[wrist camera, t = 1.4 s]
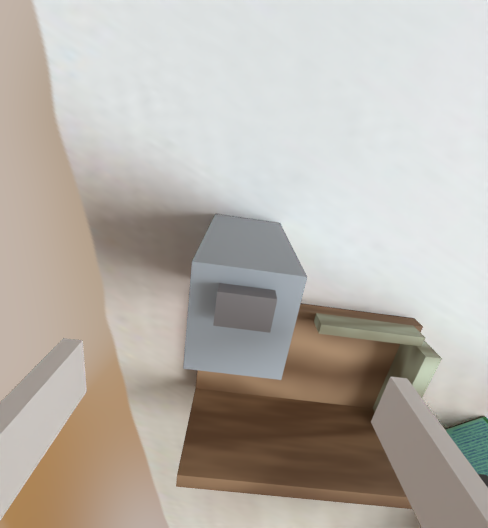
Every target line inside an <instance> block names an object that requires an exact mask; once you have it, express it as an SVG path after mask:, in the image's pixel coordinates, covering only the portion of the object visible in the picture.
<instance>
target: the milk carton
mask: <svg viewBox="0 0 488 528" xmlns="http://www.w3.org/2000/svg"><path fill="white" fill-rule="evenodd" d="M446 432H447V433H448V434H449V436H450V437H451V438H452V440H453V441H454V443H455V444H456V445H457V447H458V448H459V449H460V451H461V452H462V453H463V455H464V456H465V457H466V459H467V460H468V462H469V463H470V464H471V466H472V467H473V468H474V470H475V471H476V472H477V474H484V475H487V476H488V419H487V418H486V417H485V416H484V417H481V418H478V419H475V420H472V421H469V422H466V423H463V424H461V425H458V426H455V427H452V428H449V429H446Z"/></svg>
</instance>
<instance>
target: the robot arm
mask: <svg viewBox="0 0 488 528" xmlns="http://www.w3.org/2000/svg"><path fill="white" fill-rule="evenodd" d="M86 391H87V389H86V377H85V364H84V351H83V340H75V339H65V338H63V339H62V341H60V343H58V344H57V345H56V346H55V347H54V348H53V349H52V350H51V351H50V352H49V353H48V354H47V355H46V356H45V357H44V358H43V359H42V360H41V362H39V364H37V366H35V367H34V368H33V369H32V371H31V372H30V373H28V375H27V376H25V377H24V379H23V380H22V381H21V382H20V383H19V384H18V385H17V386H16V387H15V388H14V389H13V390H12V391H11V392H10V393H9V394H8V395H7V396H6V397H5V398H4V399H3V400H2V401H1V402H0V520H1V519H2V517H3V515H4V514H5V513H6V511H7V509H8V508H9V507H10V505H11V504H12V502H13V501H14V499H15V498H16V496H17V495H18V493H19V492H20V490H21V489H22V487H23V486H24V484H25V483H26V481H27V480H28V478H29V477H30V475H31V474H32V472H33V471H34V469H35V468H36V466H37V465H38V463H39V462H40V460H41V459H42V457H43V455H44V454H45V453H46V451H47V450H48V448H49V447H50V445H51V444H52V442H53V441H54V439H55V438H56V436H57V435H58V433H59V432H60V430H61V429H62V427H63V426H64V424H65V423H66V421H67V420H68V418H69V417H70V415H71V414H72V413H73V411H74V410H75V408H76V407H77V405H78V403H79V402H80V401H81V399H82V398H83V396H84V395H85V393H86ZM371 423H372V425H373V428H374V430H375V432H376V434H377V436H378V438H379V440H380V442H381V444H382V446H383V448H384V450H385V453H386V455H387V457H388V459H389V461H390V463H391V465H392V467H393V469H394V471H395V473H396V476H397V478H398V480H399V482H400V484H401V486H402V488H403V490H404V492H405V494H406V496H407V498H408V501H409V503H410V505H411V507H412V509H413V511H414V513H415V515H416V517H417V519H418V521H419V524H420V526H421V528H488V476H487V475H484V474H477V472H476V471H475V470H474V468H473V467H472V466H471V464H470V463H469V462H468V460H467V459H466V457H465V456H464V455H463V453H462V452H461V451H460V449H459V448H458V447H457V445H456V444H455V443H454V441H453V440H452V438H451V437H450V436H449V434H448V433H447V432H446V430H445V429H444V428H443V426H442V425H441V424H440V422H439V421H438V419H437V418H436V417H435V415H434V414H433V413H432V411H431V410H430V409H429V407H428V406H427V405H426V403H425V402H424V400H423V399H422V398H421V396H420V395H419V394H418V392H417V391H416V390H415V388H414V387H413V386H412V384H411V383H410V382H409V380H408V379H407V378H399V377H391V376H390V378H389V381H388V383H387V385H386V388H385V390H384V392H383V395H382V397H381V399H380V402H379V404H378V406H377V409H376V411H375V413H374V416H373V418H372V420H371Z"/></svg>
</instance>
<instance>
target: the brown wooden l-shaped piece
mask: <svg viewBox="0 0 488 528" xmlns="http://www.w3.org/2000/svg"><path fill="white" fill-rule="evenodd" d="M422 328H423V326H422V325H421V324H420V323H419V322H417V321H416V320H415V319H414V318H406V317H399V316H391V315H383V314H376V313H368V312H360V311H353V310H345V309H338V308H330V307H322V306H315V305H307V304H300V308H299V312H298V316H297V320H296V323H295V327H294V331H293V335H292V339H291V343H290V347H289V351H288V355H287V359H286V363H285V367H284V371H283V375H282V379H281V380H277V379H269V378H260V377H252V376H243V375H234V374H226V373H217V372H209V371H200V370H197V380H196V389H195V393H194V398H193V403H192V408H191V412H190V417H189V422H188V426H187V431H186V436H185V441H184V445H183V450H182V455H181V460H180V464H179V469H178V474H177V483H176V486H177V487H187V488H198V489H208V490H219V491H229V492H240V493H250V494H261V495H271V496H282V497H292V498H302V499H313V500H323V501H334V502H344V503H355V504H365V505H376V506H386V507H397V508H407V509H412V507H411V505H410V503H409V501H408V498H407V496H406V494H405V492H404V490H403V488H402V486H401V484H400V482H399V480H398V478H397V476H396V473H395V471H394V469H393V467H392V465H391V463H390V461H389V459H388V457H387V455H386V453H385V450H384V448H383V446H382V444H381V442H380V440H379V438H378V436H377V434H376V432H375V430H374V428H373V425H372V423H371V420H372V418H373V416H374V413H375V411H376V409H377V406H378V404H379V402H380V399H381V397H382V395H383V392H384V390H385V388H386V385H387V383H388V381H389V378H390V376H391V377H399V378H407V379H408V380H409V382H410V383H411V384H412V386H413V387H414V388H415V390H416V391H417V392H418V394H419V395H420V396H421V398H422V396H423V395H424V393H425V391H426V389H427V387H428V385H429V383H430V381H431V379H432V377H433V375H434V373H435V371H436V369H437V367H438V365H439V363H440V361H441V359H442V358H441V357H440V356H439V355H438V354H437V353H436V352H435V351H434V350H433V349H432V348H431V347H430V346H429V345H428V344H427V343H426V342H425V341H424V340H425V337H424V336H423V335H422V334H421V333H420V332H421V330H422Z"/></svg>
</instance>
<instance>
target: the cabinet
mask: <svg viewBox="0 0 488 528" xmlns="http://www.w3.org/2000/svg"><path fill="white" fill-rule="evenodd" d="M306 280H307V275H306V273H305V272H304V270H303V268H302V266H301V264H300V262H299V260H298V258H297V256H296V254H295V252H294V250H293V248H292V246H291V244H290V242H289V240H288V238H287V236H286V234H285V232H284V230H283V228H282V226H281V224H280V223H275V222H269V221H262V220H255V219H248V218H241V217H234V216H227V215H220V214H215V216H214V218H213V220H212V222H211V224H210V226H209V228H208V230H207V232H206V234H205V236H204V238H203V240H202V242H201V244H200V246H199V248H198V250H197V252H196V254H195V256H194V258H193V260H192V268H191V280H190V292H189V305H188V317H187V329H186V342H185V354H184V366H183V369H191V370H200V371H209V372H217V373H226V374H234V375H243V376H252V377H260V378H269V379H277V380H281V379H282V375H283V371H284V367H285V363H286V359H287V355H288V351H289V347H290V343H291V339H292V335H293V331H294V327H295V323H296V320H297V316H298V312H299V308H300V304H301V300H302V296H303V292H304V288H305V284H306Z"/></svg>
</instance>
